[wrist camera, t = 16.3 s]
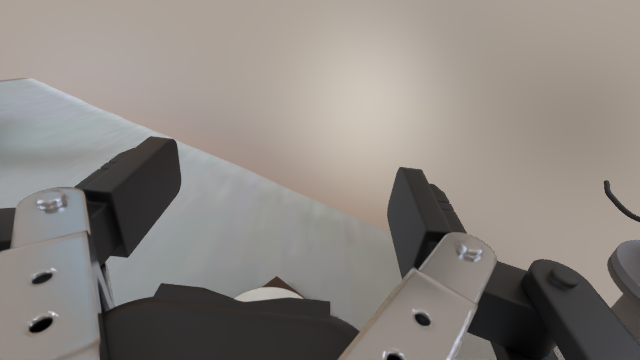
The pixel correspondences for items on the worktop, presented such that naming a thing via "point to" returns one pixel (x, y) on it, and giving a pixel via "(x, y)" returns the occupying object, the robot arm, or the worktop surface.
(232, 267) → the worktop surface
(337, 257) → the worktop surface
